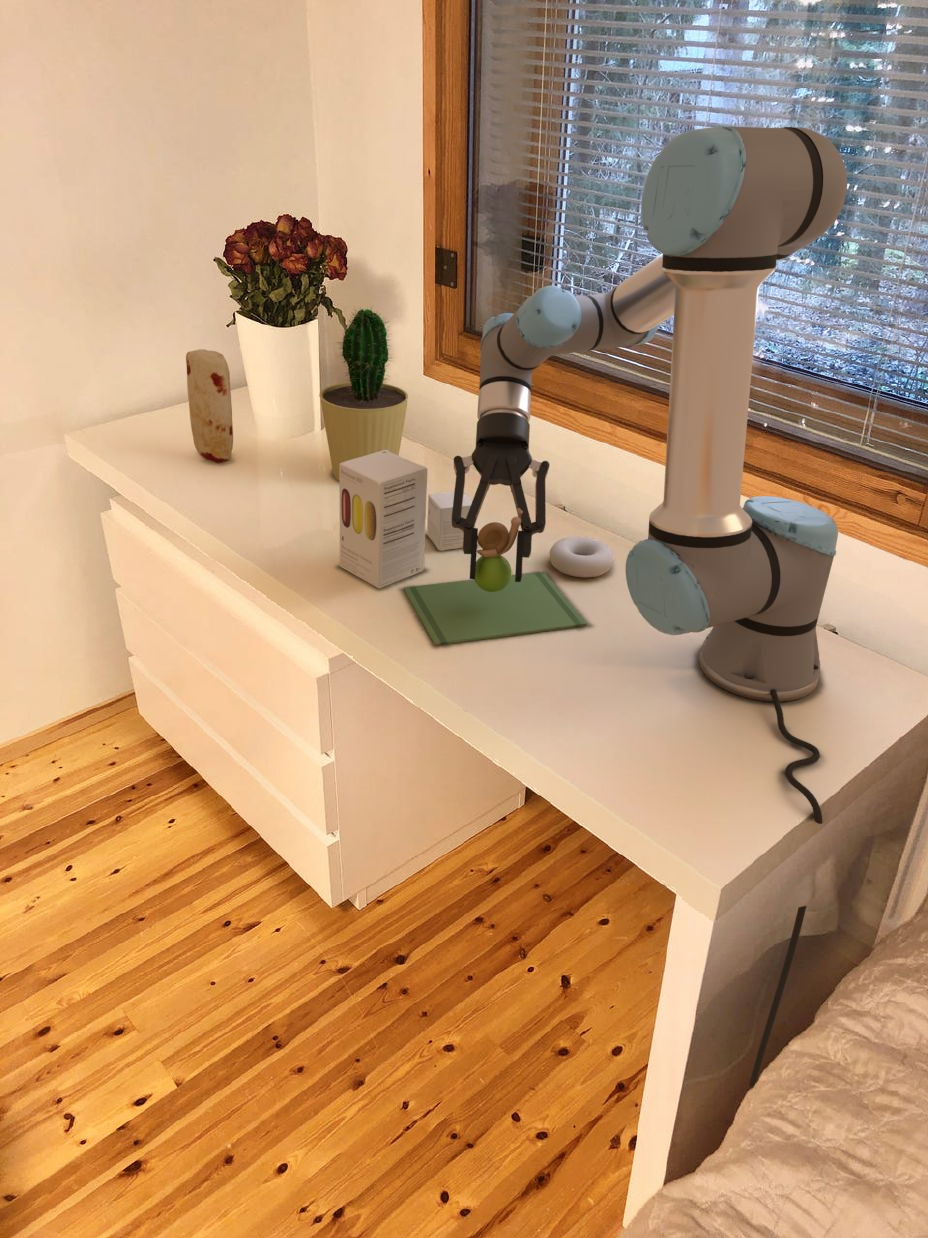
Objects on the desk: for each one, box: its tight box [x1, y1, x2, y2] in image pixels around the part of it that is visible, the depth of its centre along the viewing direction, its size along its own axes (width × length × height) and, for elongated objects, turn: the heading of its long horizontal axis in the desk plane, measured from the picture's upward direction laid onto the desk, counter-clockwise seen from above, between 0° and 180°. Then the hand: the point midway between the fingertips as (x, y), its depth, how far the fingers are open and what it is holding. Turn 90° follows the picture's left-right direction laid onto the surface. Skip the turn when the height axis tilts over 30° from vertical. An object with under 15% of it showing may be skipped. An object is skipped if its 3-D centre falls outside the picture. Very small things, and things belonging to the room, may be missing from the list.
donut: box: [548, 536, 615, 579], centre depth 160 cm, size 10×3×10 cm
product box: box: [426, 490, 476, 552], centre depth 165 cm, size 6×6×7 cm
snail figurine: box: [473, 508, 523, 592], centre depth 144 cm, size 5×6×12 cm
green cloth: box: [403, 571, 587, 646], centre depth 148 cm, size 16×22×1 cm
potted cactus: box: [318, 305, 409, 482], centre depth 181 cm, size 15×15×30 cm
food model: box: [185, 348, 234, 464], centre depth 187 cm, size 10×7×20 cm
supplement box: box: [339, 450, 428, 589], centre depth 153 cm, size 10×9×17 cm
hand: (495, 577), depth 142 cm, fingers closed on snail figurine, 6 cm apart
